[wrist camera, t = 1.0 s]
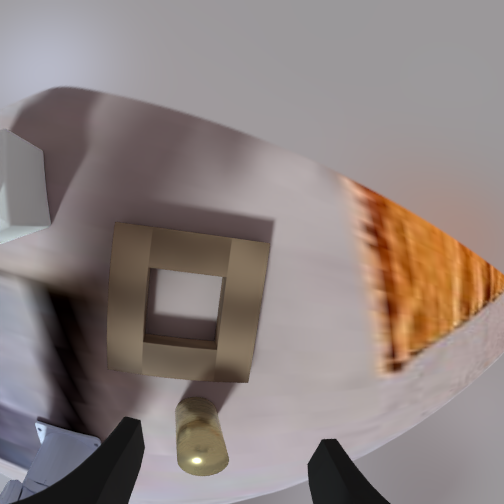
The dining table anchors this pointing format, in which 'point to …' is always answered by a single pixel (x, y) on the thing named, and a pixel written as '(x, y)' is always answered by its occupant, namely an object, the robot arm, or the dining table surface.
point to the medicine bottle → (21, 188)
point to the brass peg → (199, 438)
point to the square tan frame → (192, 261)
